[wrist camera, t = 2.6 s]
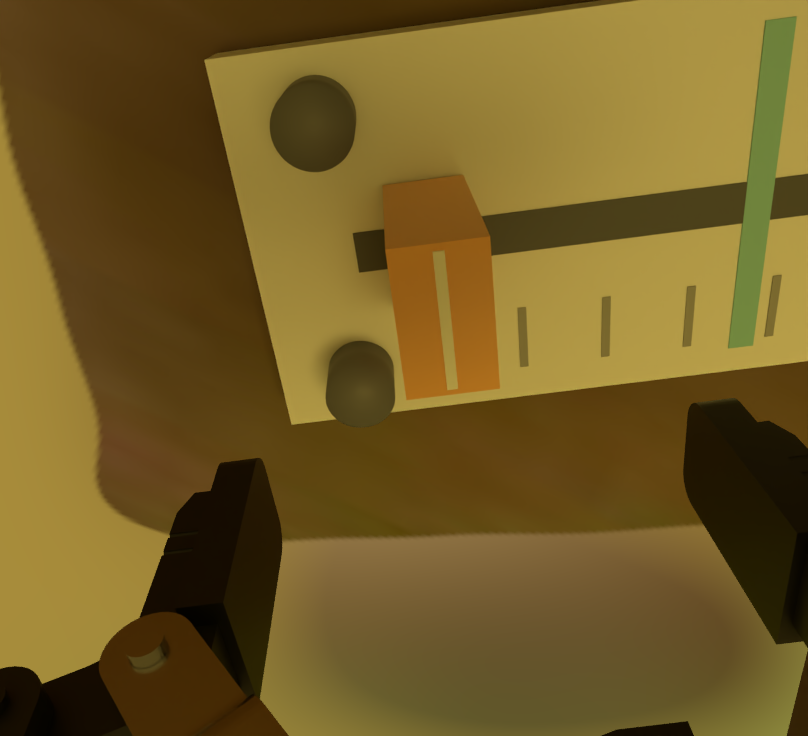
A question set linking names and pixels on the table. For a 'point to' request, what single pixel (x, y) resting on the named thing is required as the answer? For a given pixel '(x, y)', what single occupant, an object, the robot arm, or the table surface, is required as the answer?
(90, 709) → the robot arm
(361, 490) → the table surface
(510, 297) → the console
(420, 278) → the fader cap
